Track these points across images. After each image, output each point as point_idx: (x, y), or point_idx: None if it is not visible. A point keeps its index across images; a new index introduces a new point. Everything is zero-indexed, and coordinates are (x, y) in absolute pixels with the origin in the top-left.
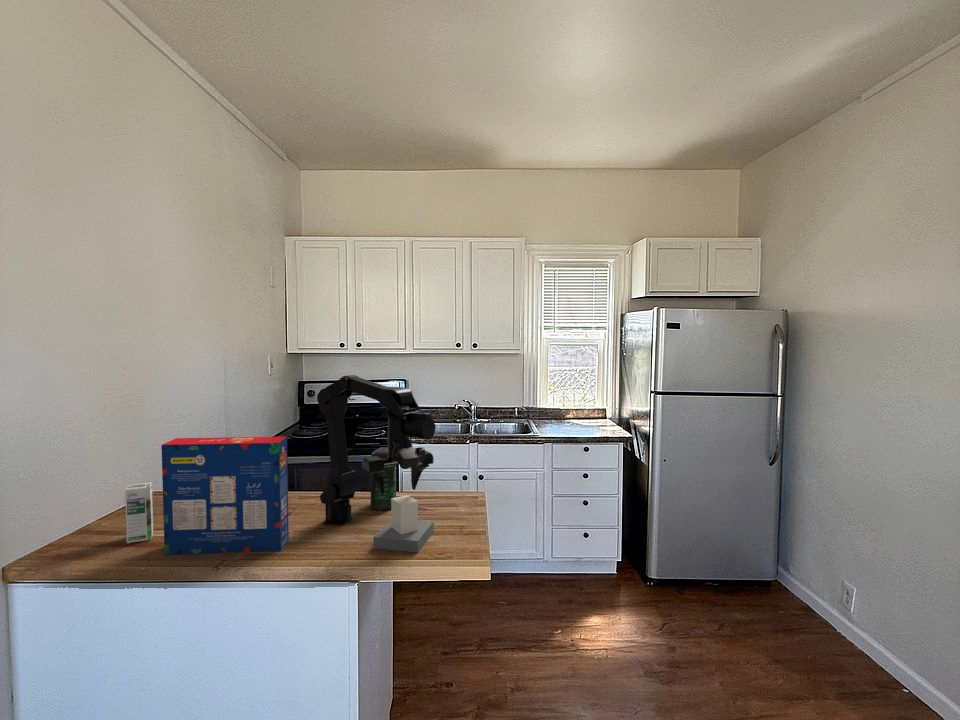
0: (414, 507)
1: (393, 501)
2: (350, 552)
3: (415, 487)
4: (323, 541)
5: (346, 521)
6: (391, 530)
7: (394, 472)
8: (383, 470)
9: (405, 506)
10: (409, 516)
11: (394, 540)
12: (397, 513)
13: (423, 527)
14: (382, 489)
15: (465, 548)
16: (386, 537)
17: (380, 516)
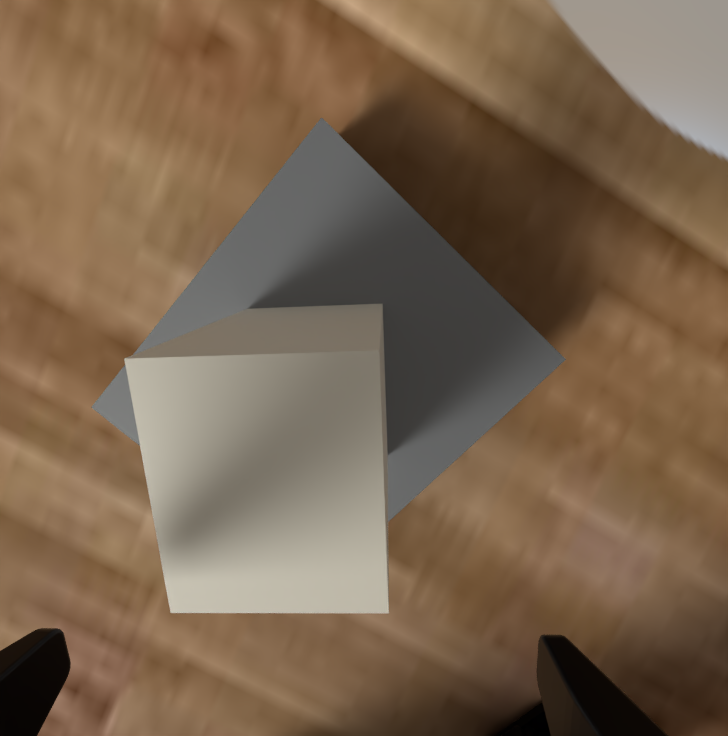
0: (206, 340)
1: (386, 544)
2: (674, 359)
3: (10, 647)
4: (723, 570)
5: (516, 728)
6: (408, 405)
7: None
8: None
9: (315, 342)
10: (290, 323)
11: (454, 249)
12: (383, 400)
13: None
14: (618, 710)
15: (29, 35)
16: (492, 305)
17: (322, 714)
